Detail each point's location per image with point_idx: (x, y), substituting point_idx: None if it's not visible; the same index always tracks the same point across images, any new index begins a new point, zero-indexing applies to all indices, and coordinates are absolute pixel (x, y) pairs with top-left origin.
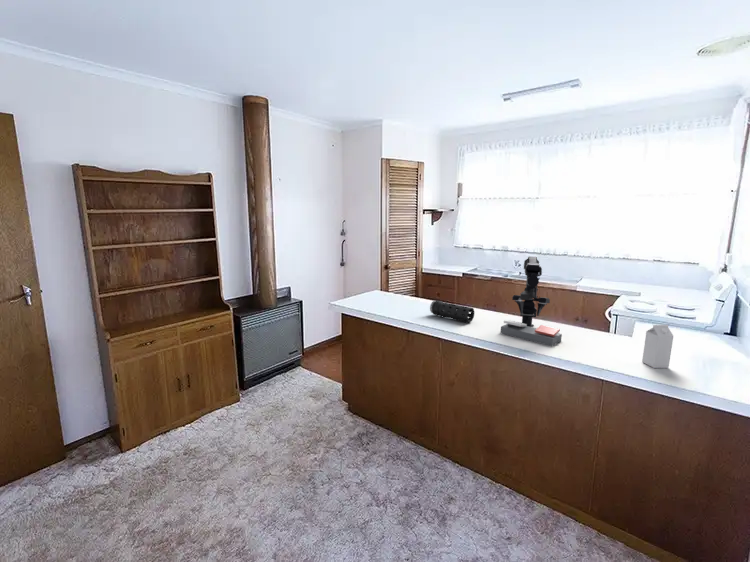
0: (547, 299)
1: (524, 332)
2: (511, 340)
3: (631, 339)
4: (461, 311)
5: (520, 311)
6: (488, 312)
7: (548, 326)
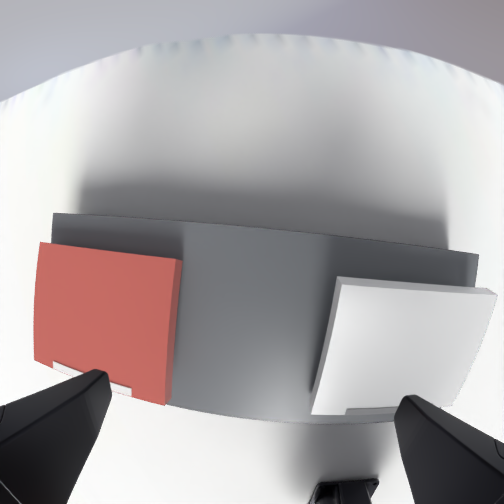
0: None
1: (272, 229)
2: (331, 134)
3: None
4: None
5: (435, 409)
6: None
7: None
